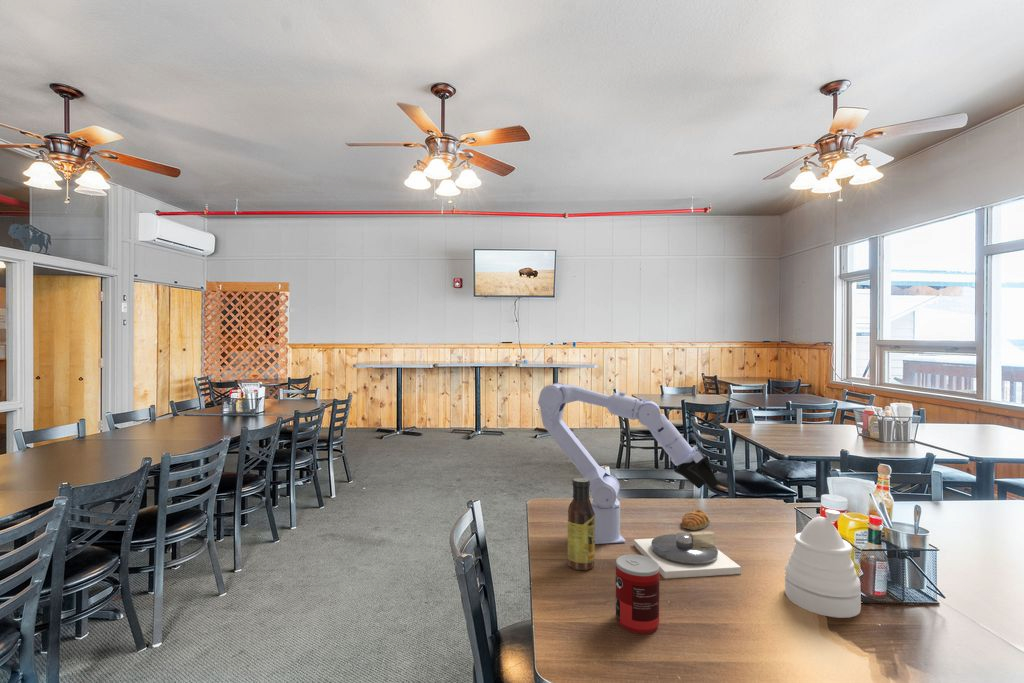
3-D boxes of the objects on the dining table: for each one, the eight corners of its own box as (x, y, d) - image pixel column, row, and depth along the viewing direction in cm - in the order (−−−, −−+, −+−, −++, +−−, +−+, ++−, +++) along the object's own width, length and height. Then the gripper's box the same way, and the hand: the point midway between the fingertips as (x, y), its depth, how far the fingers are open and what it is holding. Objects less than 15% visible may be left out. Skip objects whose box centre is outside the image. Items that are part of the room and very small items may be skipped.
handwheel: (668, 566, 109) (668, 548, 109) (641, 539, 124) (641, 523, 124) (730, 562, 111) (730, 545, 111) (697, 536, 126) (697, 521, 126)
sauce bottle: (594, 573, 110) (594, 484, 110) (566, 570, 111) (566, 482, 112) (595, 560, 117) (595, 476, 117) (568, 558, 118) (569, 475, 118)
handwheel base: (664, 578, 108) (664, 570, 108) (633, 545, 126) (633, 538, 126) (741, 573, 110) (741, 566, 110) (700, 541, 128) (700, 535, 128)
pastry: (699, 534, 134) (699, 520, 134) (675, 528, 138) (675, 514, 138) (711, 524, 141) (711, 511, 141) (688, 519, 145) (687, 506, 145)
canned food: (626, 606, 96) (626, 550, 96) (666, 621, 91) (666, 561, 91) (607, 623, 90) (607, 563, 90) (649, 640, 85) (649, 576, 85)
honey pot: (845, 589, 103) (845, 503, 103) (872, 622, 91) (872, 525, 91) (778, 581, 107) (778, 498, 107) (795, 612, 94) (795, 518, 95)
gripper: (694, 428, 119) (733, 475, 116) (673, 435, 133) (707, 476, 130) (673, 446, 118) (712, 493, 115) (654, 450, 132) (688, 493, 129)
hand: (708, 485), depth 122 cm, fingers open, 7 cm apart
